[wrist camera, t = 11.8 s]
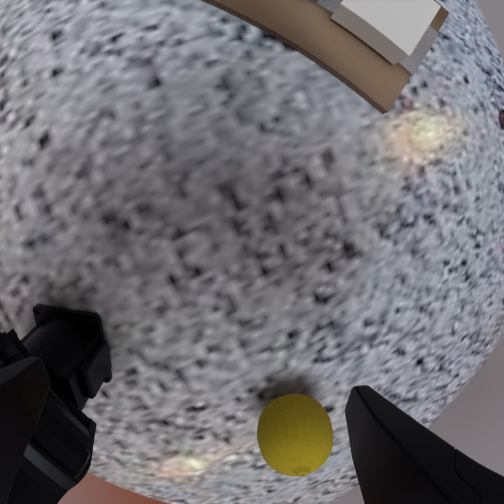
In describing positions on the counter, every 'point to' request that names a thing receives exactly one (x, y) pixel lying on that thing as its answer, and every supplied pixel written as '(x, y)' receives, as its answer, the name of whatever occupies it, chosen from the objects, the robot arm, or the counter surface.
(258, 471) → the counter surface
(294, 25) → the board
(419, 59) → the rail
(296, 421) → the lemon
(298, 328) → the counter surface
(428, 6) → the terminal blocks
